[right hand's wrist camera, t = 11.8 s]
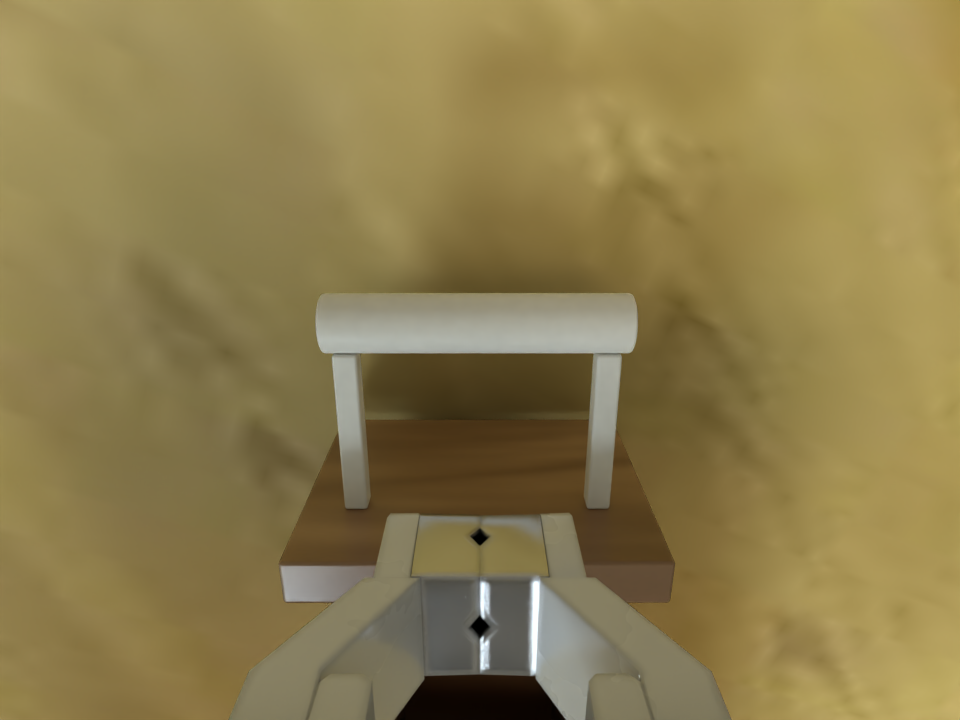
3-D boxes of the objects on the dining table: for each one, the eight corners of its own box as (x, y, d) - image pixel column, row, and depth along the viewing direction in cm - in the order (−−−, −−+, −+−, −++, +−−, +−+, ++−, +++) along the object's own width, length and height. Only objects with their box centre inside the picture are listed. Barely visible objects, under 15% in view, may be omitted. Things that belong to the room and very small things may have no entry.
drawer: (327, 251, 19) (243, 326, 13) (627, 250, 19) (708, 325, 13) (375, 806, 28) (341, 1029, 21) (580, 806, 28) (613, 1028, 22)
